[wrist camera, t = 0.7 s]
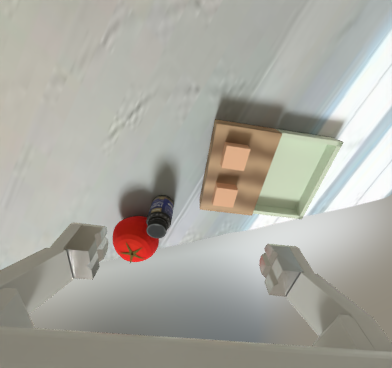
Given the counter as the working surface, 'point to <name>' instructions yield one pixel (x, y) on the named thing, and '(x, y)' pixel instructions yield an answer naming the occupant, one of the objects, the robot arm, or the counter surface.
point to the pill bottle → (159, 216)
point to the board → (244, 180)
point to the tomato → (134, 239)
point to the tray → (296, 173)
